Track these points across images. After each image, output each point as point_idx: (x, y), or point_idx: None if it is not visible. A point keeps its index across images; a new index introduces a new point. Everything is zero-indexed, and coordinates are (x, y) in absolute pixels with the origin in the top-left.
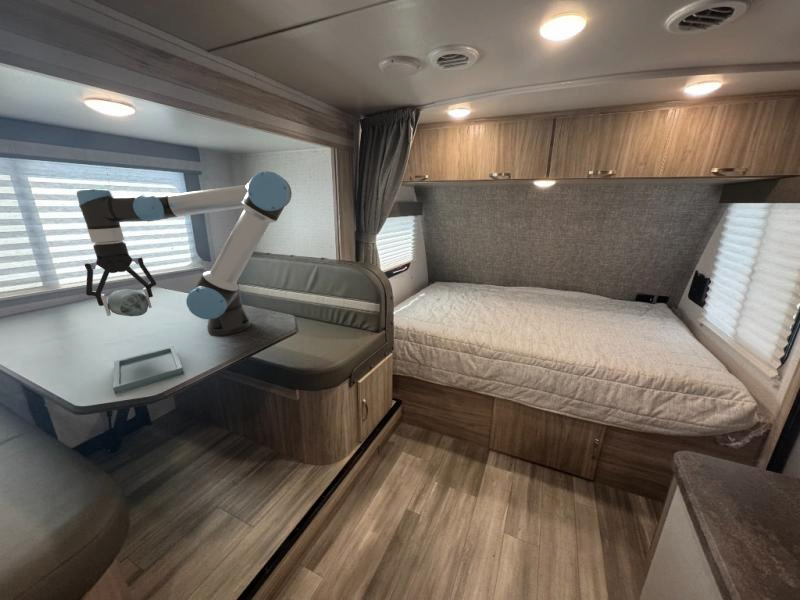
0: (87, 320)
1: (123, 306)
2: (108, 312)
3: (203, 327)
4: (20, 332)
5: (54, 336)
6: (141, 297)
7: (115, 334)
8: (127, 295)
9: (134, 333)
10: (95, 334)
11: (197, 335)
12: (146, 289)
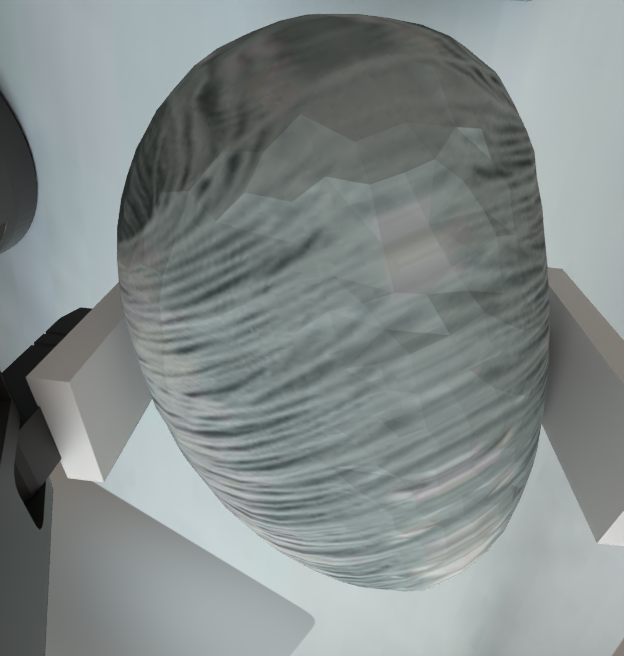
0: (435, 619)
1: (466, 48)
2: (556, 286)
3: (74, 279)
4: (588, 643)
5: (545, 569)
6: (143, 146)
7: None
8: (349, 156)
9: None
10: None
11: (94, 178)
12: (32, 372)
